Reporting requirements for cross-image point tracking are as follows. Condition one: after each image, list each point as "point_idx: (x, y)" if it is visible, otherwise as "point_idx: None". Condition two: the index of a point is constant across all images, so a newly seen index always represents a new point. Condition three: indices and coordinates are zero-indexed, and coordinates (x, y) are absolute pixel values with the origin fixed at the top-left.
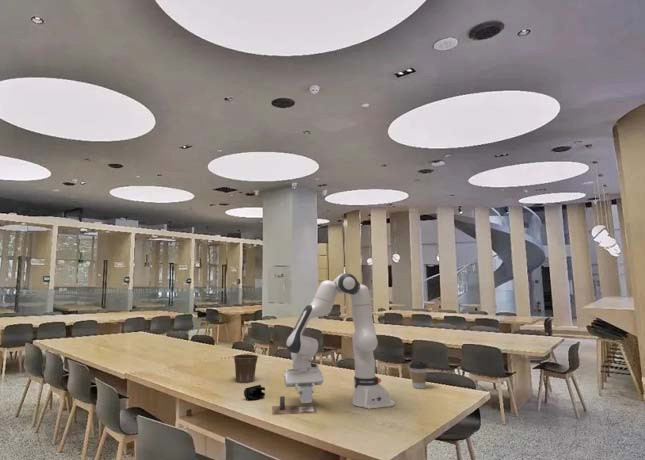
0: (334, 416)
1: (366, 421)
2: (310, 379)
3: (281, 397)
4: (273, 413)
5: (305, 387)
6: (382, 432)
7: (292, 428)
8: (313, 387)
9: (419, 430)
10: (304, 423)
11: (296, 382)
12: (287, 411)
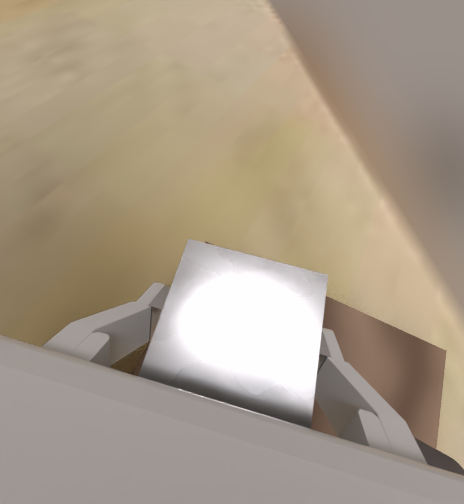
0: (144, 203)
1: (90, 104)
2: (44, 424)
3: (458, 467)
4: (436, 372)
5: (280, 264)
6: (132, 34)
7: (368, 181)
8: (128, 304)
9: (40, 2)
10: (304, 200)
11: (442, 477)
12: (345, 359)
